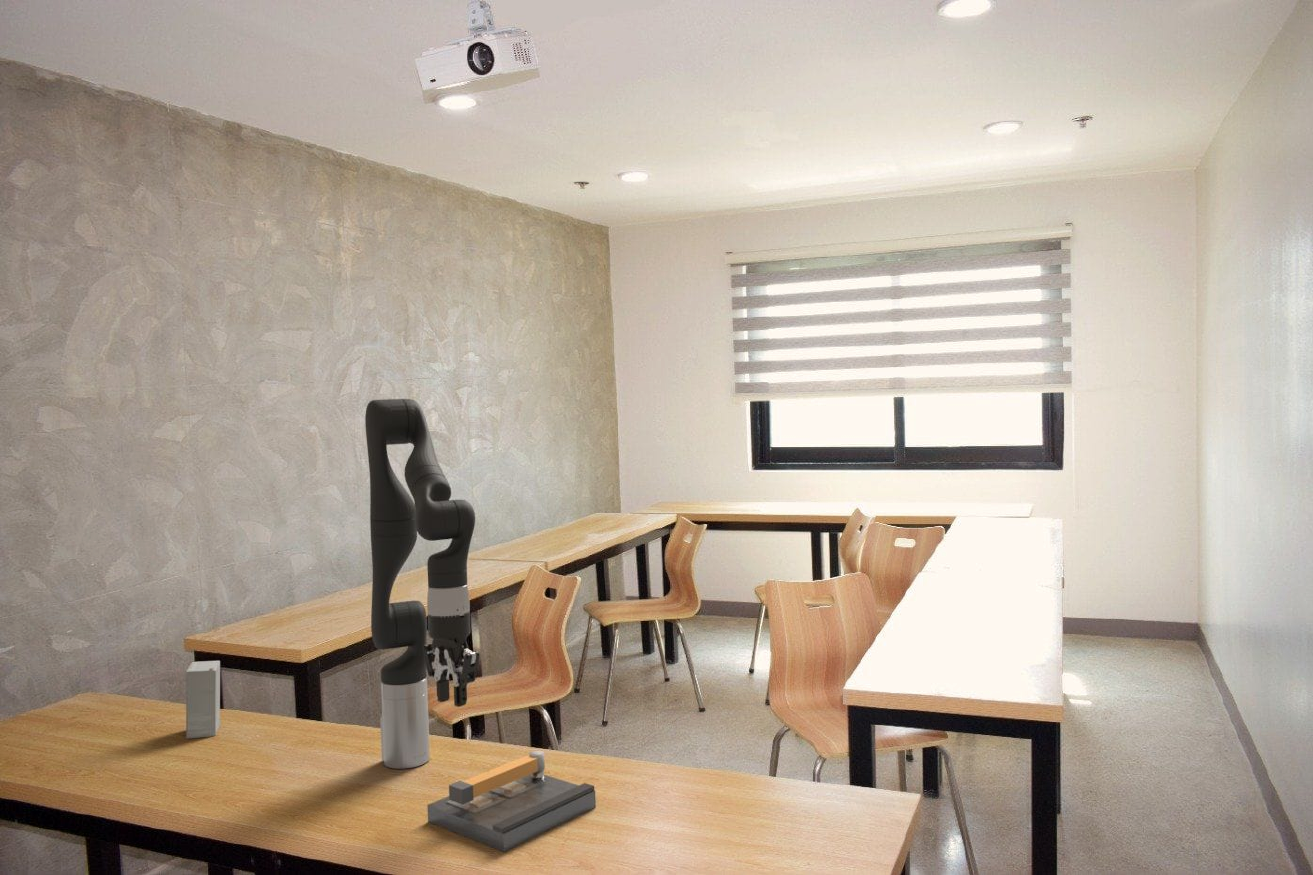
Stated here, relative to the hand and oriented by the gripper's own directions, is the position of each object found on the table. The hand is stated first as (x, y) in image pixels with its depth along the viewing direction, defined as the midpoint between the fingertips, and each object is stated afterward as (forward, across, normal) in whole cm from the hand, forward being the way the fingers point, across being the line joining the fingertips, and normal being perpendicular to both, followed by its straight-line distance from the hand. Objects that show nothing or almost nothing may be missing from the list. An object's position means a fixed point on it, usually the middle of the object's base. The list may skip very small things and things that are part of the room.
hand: (452, 702), depth 177 cm
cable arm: (+15, +7, +5) cm, 17 cm away
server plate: (+19, +11, +4) cm, 23 cm away
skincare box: (+20, -82, -7) cm, 85 cm away
